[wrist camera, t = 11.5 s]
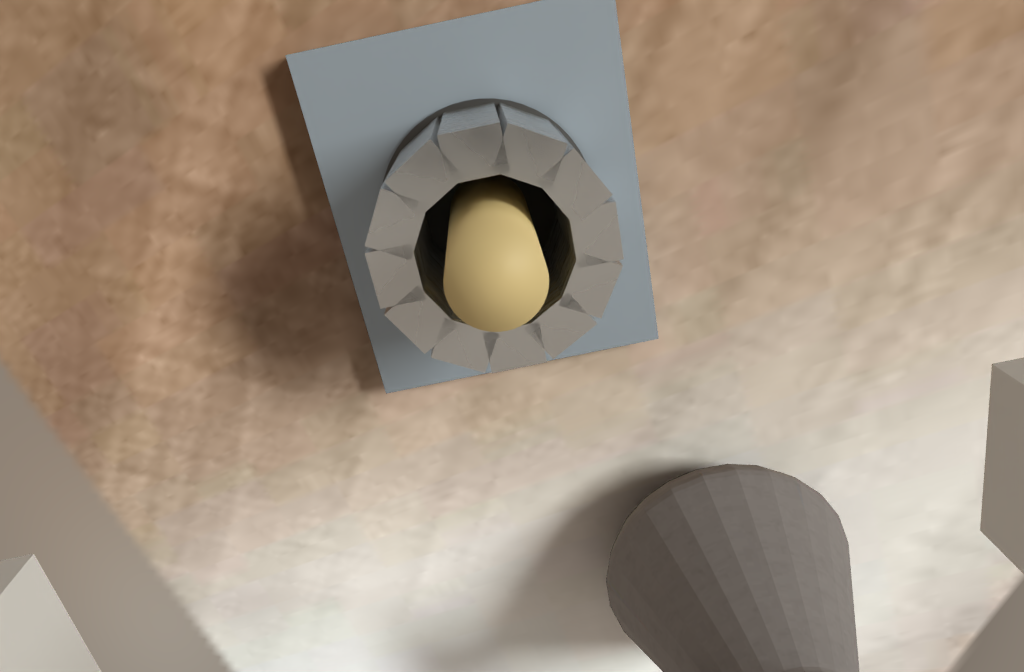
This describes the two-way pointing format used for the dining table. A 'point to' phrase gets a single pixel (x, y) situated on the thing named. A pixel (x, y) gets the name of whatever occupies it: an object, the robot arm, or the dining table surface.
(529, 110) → the square base plate
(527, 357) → the ring
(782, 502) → the coffee pot
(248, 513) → the dining table surface
